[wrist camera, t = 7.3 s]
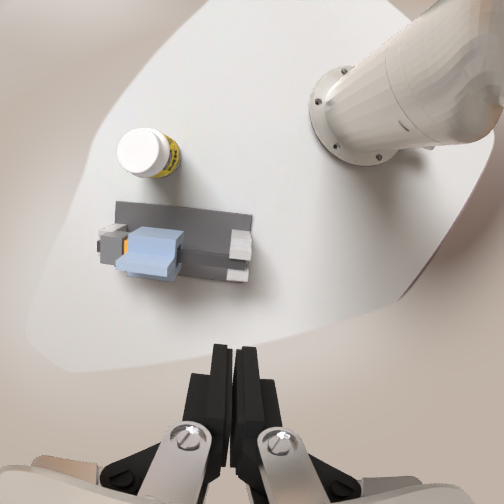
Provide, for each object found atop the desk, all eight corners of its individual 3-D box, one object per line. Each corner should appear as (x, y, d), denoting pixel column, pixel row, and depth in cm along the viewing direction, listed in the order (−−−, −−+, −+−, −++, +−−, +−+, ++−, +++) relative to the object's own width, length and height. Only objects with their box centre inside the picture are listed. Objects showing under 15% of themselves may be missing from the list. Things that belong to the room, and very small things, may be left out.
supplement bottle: (182, 175, 31) (164, 176, 23) (142, 179, 31) (113, 181, 23) (181, 134, 30) (162, 120, 21) (141, 138, 29) (112, 128, 21)
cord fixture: (251, 215, 32) (255, 225, 26) (242, 281, 34) (244, 307, 28) (117, 201, 31) (90, 208, 24) (115, 265, 33) (91, 285, 26)
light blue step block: (183, 231, 29) (168, 248, 22) (181, 267, 30) (166, 294, 23) (141, 226, 29) (115, 241, 22) (140, 262, 30) (116, 287, 23)
